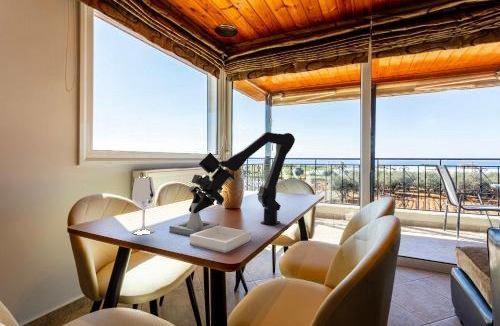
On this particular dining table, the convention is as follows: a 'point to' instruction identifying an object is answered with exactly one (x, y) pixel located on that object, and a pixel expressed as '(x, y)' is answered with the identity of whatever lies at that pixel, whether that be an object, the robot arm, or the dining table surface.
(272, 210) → the robot arm
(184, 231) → the holder
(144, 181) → the wineglass
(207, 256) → the dining table surface
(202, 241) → the tray
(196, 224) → the flask
